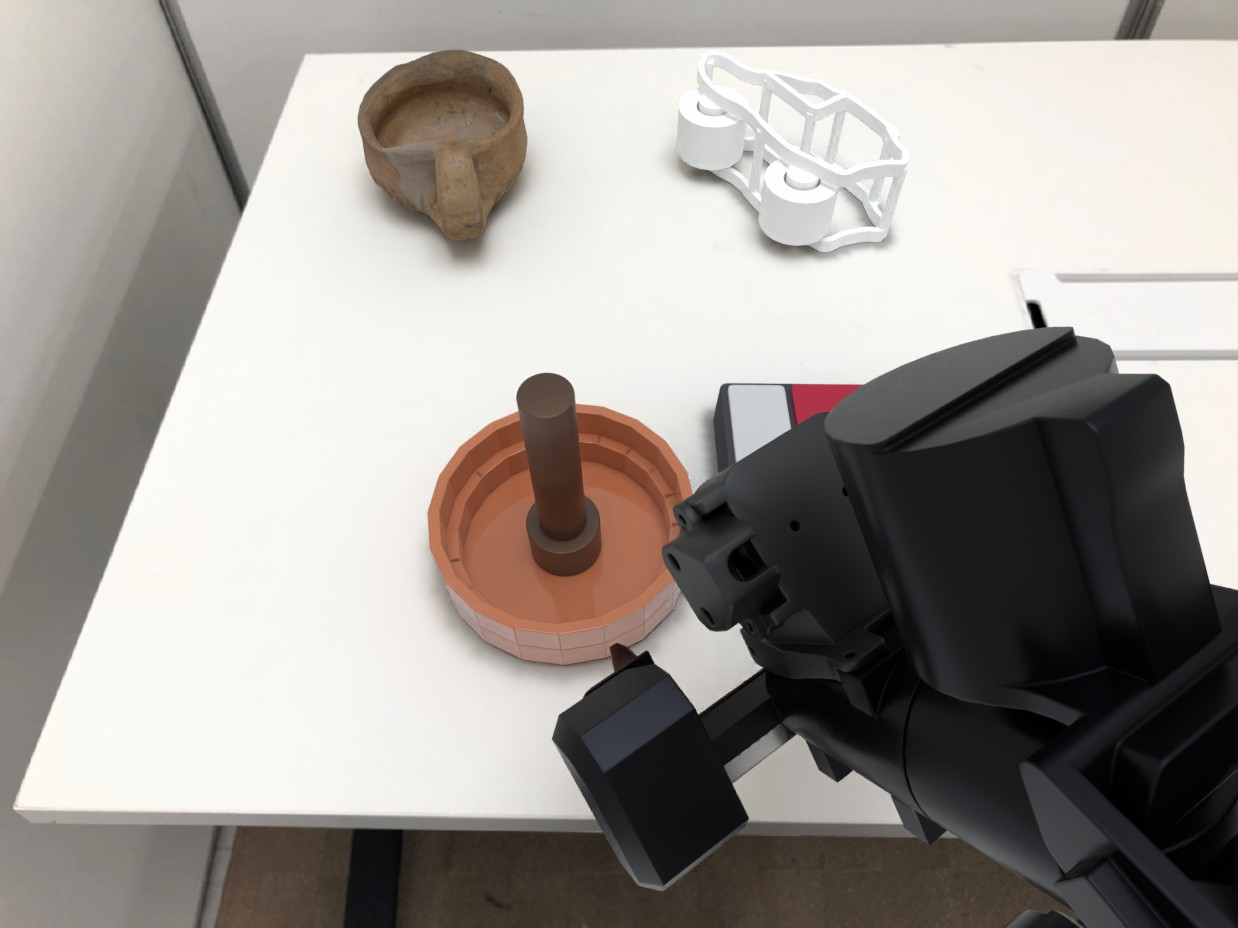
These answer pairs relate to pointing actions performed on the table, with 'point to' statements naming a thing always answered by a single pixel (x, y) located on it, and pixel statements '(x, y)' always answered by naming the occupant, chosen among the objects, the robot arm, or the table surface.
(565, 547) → the pestle
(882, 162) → the wheeled car silhouette
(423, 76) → the tan clay cup
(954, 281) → the table surface
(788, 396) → the calculator
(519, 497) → the mixing bowl
